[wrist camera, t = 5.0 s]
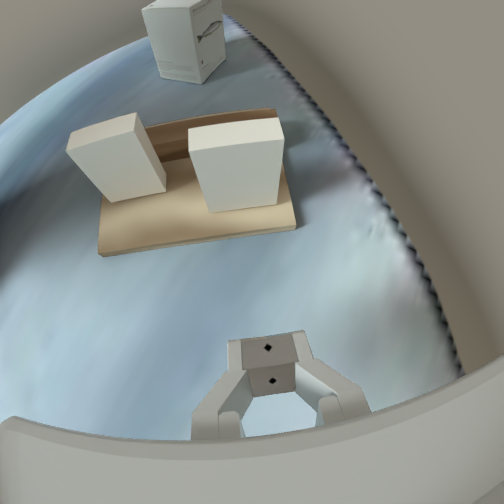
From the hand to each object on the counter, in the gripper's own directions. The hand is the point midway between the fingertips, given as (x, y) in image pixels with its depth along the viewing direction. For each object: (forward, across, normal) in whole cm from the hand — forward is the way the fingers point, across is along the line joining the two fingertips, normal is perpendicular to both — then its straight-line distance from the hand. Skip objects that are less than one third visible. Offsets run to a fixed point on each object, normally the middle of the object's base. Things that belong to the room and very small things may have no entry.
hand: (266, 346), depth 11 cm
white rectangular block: (+17, 0, -1) cm, 17 cm away
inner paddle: (+19, +10, -3) cm, 22 cm away
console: (+20, +5, -2) cm, 21 cm away
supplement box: (+36, +4, -17) cm, 40 cm away
